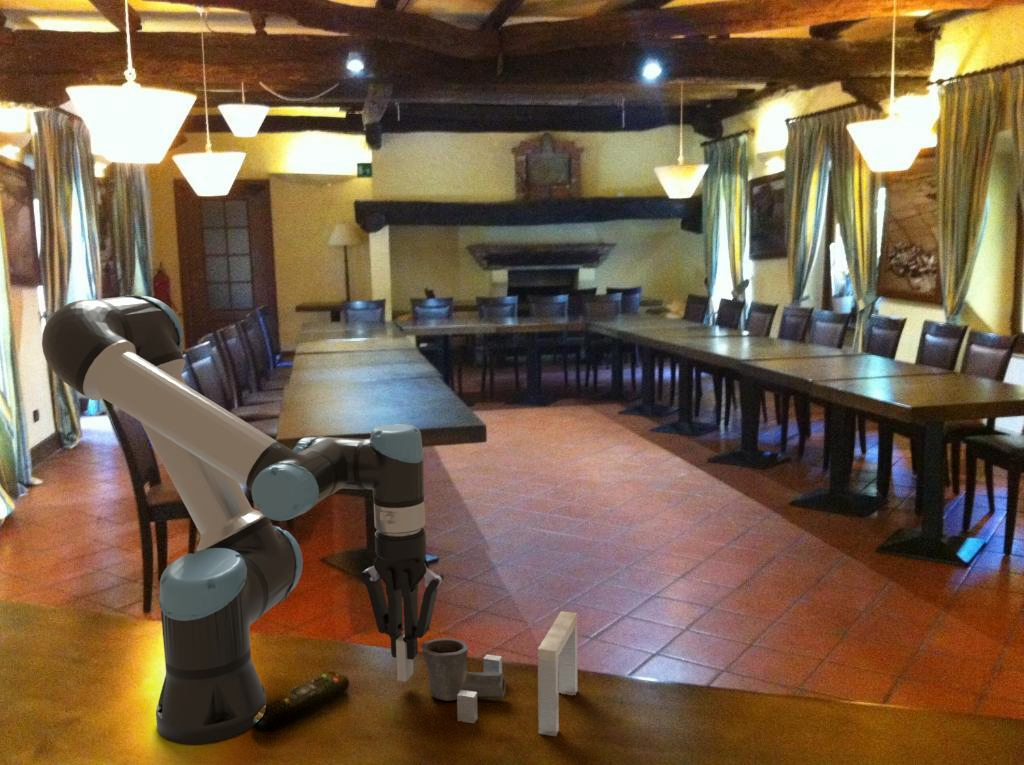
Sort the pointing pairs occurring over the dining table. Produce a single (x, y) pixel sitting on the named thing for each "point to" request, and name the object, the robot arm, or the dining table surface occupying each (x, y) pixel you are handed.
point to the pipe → (457, 672)
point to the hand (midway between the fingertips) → (405, 676)
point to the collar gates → (540, 675)
